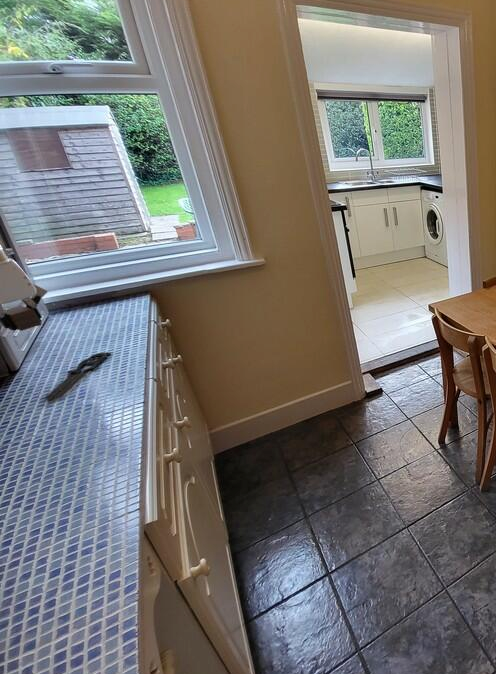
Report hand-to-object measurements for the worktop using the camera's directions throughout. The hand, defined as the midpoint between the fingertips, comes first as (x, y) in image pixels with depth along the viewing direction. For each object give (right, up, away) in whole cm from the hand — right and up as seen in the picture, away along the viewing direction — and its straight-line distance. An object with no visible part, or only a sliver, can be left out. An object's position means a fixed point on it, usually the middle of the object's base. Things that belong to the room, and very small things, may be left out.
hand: (25, 324), depth 108 cm
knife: (+17, -14, -3) cm, 22 cm away
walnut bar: (0, 0, 0) cm, 0 cm away
